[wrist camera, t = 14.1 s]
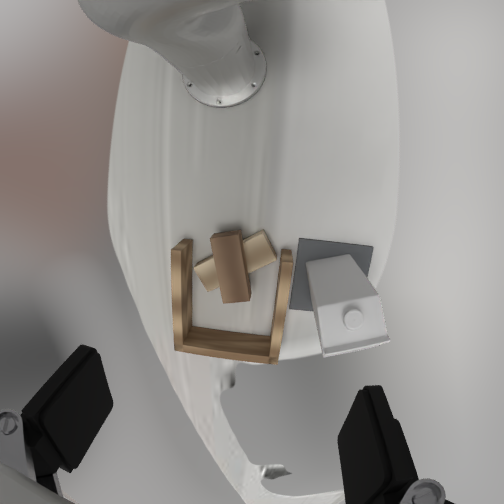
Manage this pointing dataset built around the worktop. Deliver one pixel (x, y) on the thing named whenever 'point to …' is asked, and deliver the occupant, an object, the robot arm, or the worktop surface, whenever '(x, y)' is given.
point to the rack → (218, 340)
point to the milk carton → (345, 306)
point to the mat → (316, 251)
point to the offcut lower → (255, 253)
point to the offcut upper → (231, 266)
